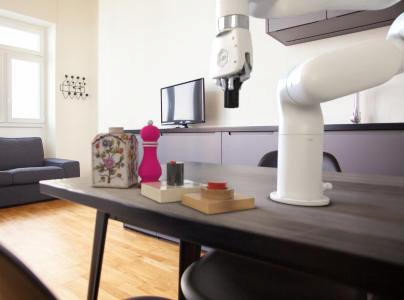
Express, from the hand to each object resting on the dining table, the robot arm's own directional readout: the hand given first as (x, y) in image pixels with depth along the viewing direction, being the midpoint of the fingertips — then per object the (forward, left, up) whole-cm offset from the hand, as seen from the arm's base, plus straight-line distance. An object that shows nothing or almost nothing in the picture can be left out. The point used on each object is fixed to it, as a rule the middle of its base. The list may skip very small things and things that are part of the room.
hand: (231, 107), depth 70 cm
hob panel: (+10, -9, -22) cm, 26 cm away
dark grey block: (+10, -9, -19) cm, 23 cm away
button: (+7, +4, -18) cm, 20 cm away
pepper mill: (+10, -24, -22) cm, 34 cm away
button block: (+7, +4, -22) cm, 23 cm away
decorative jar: (+18, -32, -22) cm, 43 cm away
